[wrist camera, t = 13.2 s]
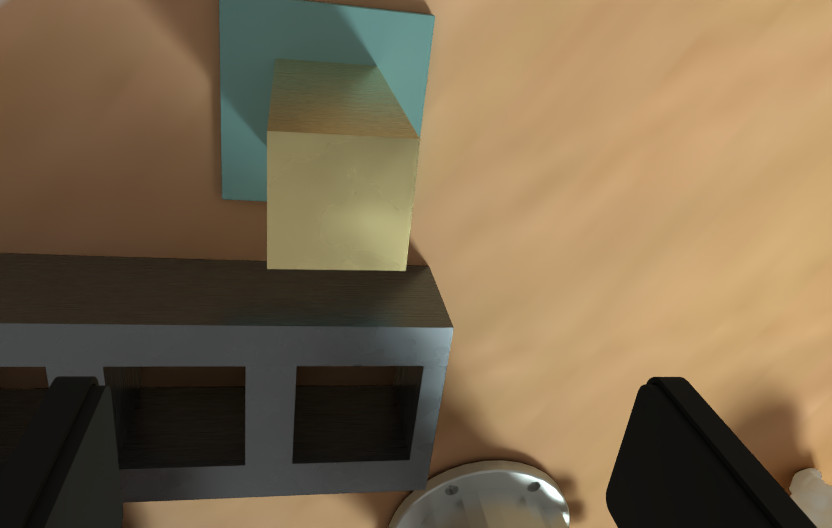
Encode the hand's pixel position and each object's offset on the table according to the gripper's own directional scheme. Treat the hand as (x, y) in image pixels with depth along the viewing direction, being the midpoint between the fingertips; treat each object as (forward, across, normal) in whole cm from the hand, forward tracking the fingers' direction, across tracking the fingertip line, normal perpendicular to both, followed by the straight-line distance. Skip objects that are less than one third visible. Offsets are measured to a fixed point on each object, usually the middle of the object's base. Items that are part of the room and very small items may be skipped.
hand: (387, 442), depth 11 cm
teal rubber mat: (+21, 0, -1) cm, 21 cm away
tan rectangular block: (+21, 0, -1) cm, 21 cm away
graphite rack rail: (+22, +6, +12) cm, 26 cm away
